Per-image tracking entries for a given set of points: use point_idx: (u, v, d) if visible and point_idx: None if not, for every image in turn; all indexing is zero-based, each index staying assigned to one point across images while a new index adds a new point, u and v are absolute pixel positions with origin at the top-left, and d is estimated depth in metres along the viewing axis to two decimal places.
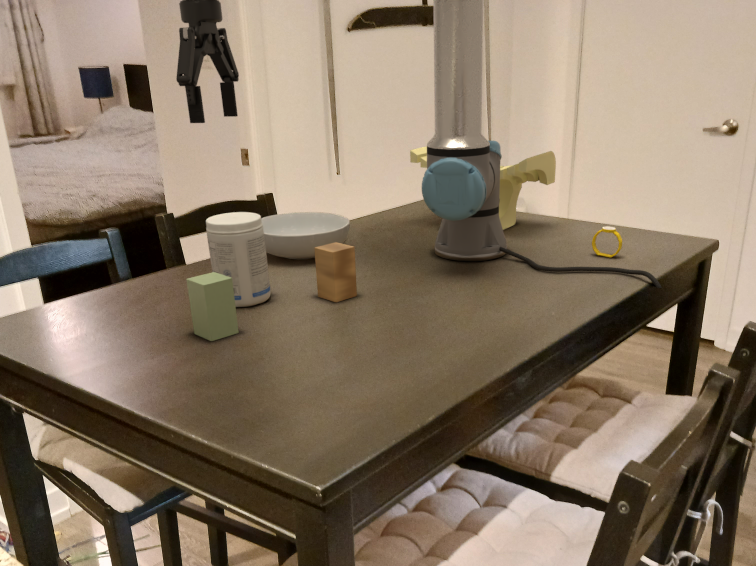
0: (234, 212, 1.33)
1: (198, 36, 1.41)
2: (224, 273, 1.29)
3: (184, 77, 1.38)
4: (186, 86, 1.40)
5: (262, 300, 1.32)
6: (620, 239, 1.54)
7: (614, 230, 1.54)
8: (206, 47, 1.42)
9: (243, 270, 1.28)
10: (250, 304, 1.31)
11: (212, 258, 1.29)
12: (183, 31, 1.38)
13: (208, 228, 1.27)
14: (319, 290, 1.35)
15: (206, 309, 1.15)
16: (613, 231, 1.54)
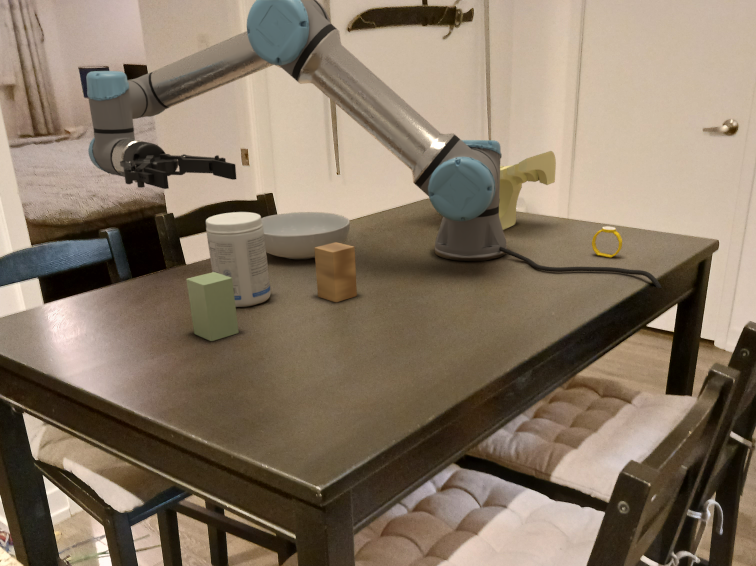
0: (234, 212, 1.33)
1: (138, 162, 1.40)
2: (224, 273, 1.29)
3: (124, 173, 1.32)
4: (138, 178, 1.32)
5: (262, 300, 1.32)
6: (620, 239, 1.54)
7: (614, 230, 1.54)
8: (147, 158, 1.39)
9: (243, 269, 1.28)
10: (250, 304, 1.31)
11: (212, 258, 1.29)
12: (121, 170, 1.39)
13: (208, 228, 1.27)
14: (319, 290, 1.35)
15: (206, 309, 1.15)
16: (613, 231, 1.54)
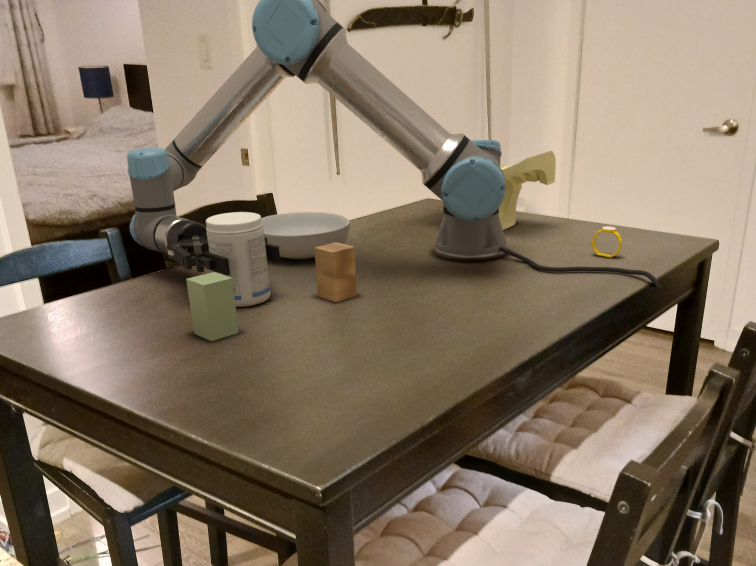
0: (234, 212, 1.33)
1: (183, 244, 1.37)
2: None
3: (183, 259, 1.29)
4: (197, 263, 1.29)
5: (262, 300, 1.32)
6: (620, 239, 1.54)
7: (614, 230, 1.54)
8: (193, 240, 1.36)
9: (243, 269, 1.28)
10: (250, 304, 1.31)
11: None
12: (169, 254, 1.35)
13: (208, 228, 1.27)
14: (319, 290, 1.35)
15: (206, 309, 1.15)
16: (613, 231, 1.54)
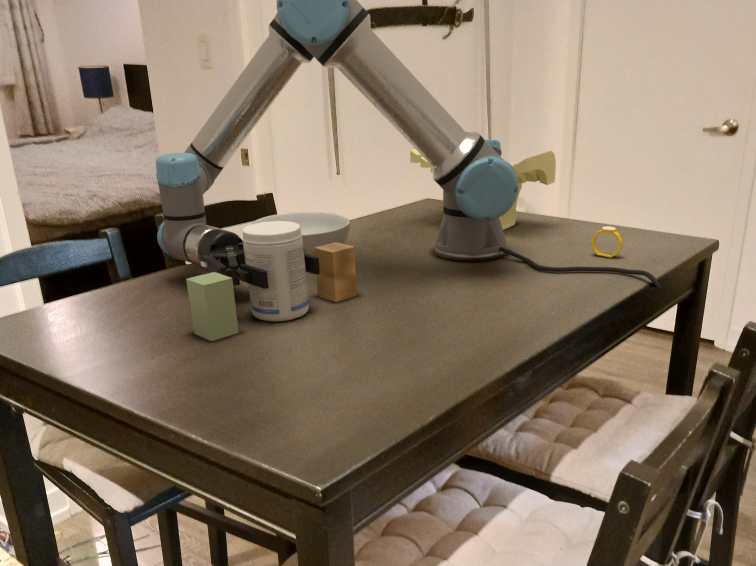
0: (271, 221, 1.26)
1: (216, 255, 1.30)
2: None
3: (219, 272, 1.22)
4: (233, 276, 1.22)
5: (300, 314, 1.25)
6: (620, 239, 1.54)
7: (614, 230, 1.54)
8: (227, 251, 1.29)
9: (282, 282, 1.21)
10: (288, 318, 1.24)
11: None
12: (201, 265, 1.28)
13: (245, 238, 1.20)
14: (319, 290, 1.35)
15: (206, 309, 1.15)
16: (613, 231, 1.54)
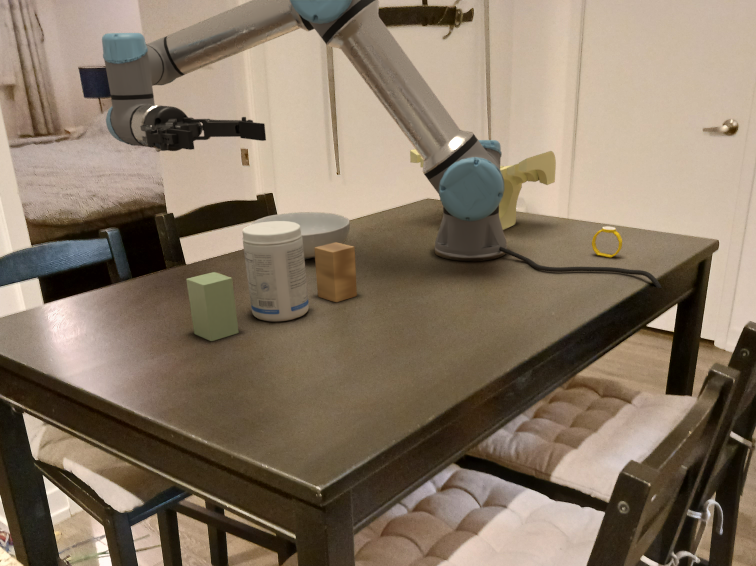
0: (271, 221, 1.26)
1: (159, 126, 1.30)
2: (262, 286, 1.22)
3: (146, 135, 1.21)
4: (160, 140, 1.22)
5: (300, 314, 1.25)
6: (620, 239, 1.54)
7: (614, 230, 1.54)
8: None
9: (281, 282, 1.21)
10: (288, 318, 1.24)
11: (249, 270, 1.22)
12: (142, 135, 1.29)
13: (245, 238, 1.20)
14: (319, 290, 1.35)
15: (206, 309, 1.15)
16: (613, 231, 1.54)
